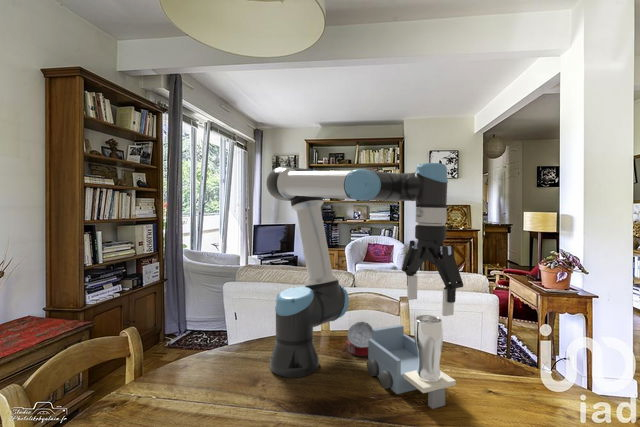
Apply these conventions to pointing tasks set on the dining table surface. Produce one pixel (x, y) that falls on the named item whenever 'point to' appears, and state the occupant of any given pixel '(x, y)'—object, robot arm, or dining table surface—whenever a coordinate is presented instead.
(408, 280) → the robot arm
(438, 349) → the beer glass
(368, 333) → the canned food
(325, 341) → the dining table surface
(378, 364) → the trailer
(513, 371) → the dining table surface
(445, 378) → the tailgate
